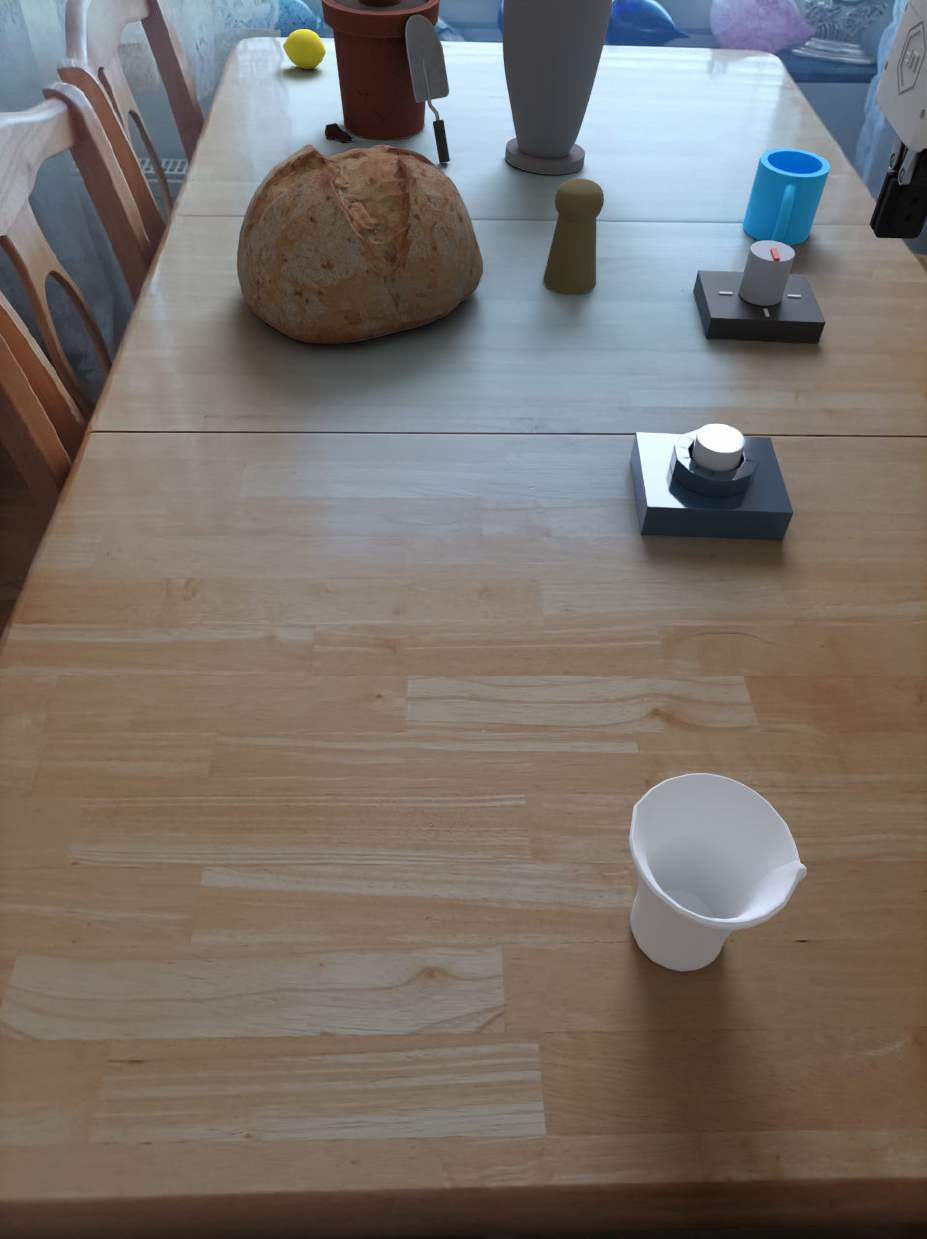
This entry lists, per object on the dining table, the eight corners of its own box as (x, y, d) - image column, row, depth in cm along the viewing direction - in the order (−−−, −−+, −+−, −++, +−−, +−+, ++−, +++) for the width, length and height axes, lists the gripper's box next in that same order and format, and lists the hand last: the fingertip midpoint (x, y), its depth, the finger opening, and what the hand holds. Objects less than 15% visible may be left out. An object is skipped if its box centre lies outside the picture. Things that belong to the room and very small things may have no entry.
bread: (445, 232, 114) (447, 98, 102) (512, 332, 99) (523, 190, 88) (226, 260, 107) (203, 122, 96) (264, 372, 93) (241, 224, 82)
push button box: (760, 465, 85) (776, 420, 82) (782, 541, 79) (800, 496, 75) (629, 460, 85) (639, 415, 82) (640, 535, 79) (651, 489, 75)
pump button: (735, 443, 80) (741, 424, 78) (743, 473, 77) (749, 454, 76) (688, 441, 80) (693, 422, 78) (694, 471, 77) (700, 452, 76)
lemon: (332, 65, 150) (330, 26, 146) (320, 76, 147) (317, 37, 143) (292, 59, 151) (288, 21, 147) (278, 70, 148) (274, 32, 144)
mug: (745, 210, 120) (762, 144, 114) (810, 220, 119) (830, 153, 113) (737, 253, 112) (755, 184, 106) (807, 264, 111) (829, 195, 105)
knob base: (798, 295, 106) (805, 273, 104) (818, 343, 99) (826, 321, 97) (693, 290, 106) (698, 268, 104) (705, 339, 99) (711, 316, 97)
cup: (743, 1024, 52) (796, 953, 45) (584, 962, 54) (609, 884, 47) (769, 887, 58) (820, 803, 50) (623, 835, 60) (652, 747, 53)
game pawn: (533, 274, 107) (542, 177, 99) (577, 263, 109) (590, 167, 101) (560, 299, 104) (571, 200, 96) (606, 287, 106) (621, 190, 98)
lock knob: (735, 283, 102) (747, 236, 98) (777, 285, 102) (791, 238, 98) (741, 304, 99) (754, 257, 95) (785, 307, 99) (800, 259, 95)
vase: (588, 144, 132) (628, -178, 106) (595, 184, 124) (640, -155, 98) (495, 141, 132) (511, -182, 106) (495, 181, 124) (513, -160, 97)
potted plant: (450, 105, 141) (454, -102, 122) (449, 166, 126) (453, -57, 108) (332, 101, 140) (317, -107, 121) (318, 162, 126) (299, -63, 107)
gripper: (902, -107, 59) (818, 186, 73) (982, -38, 49) (867, 285, 63) (1022, -105, 59) (915, 187, 73) (1126, -37, 49) (979, 287, 63)
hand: (893, 232), depth 68 cm, fingers closed
